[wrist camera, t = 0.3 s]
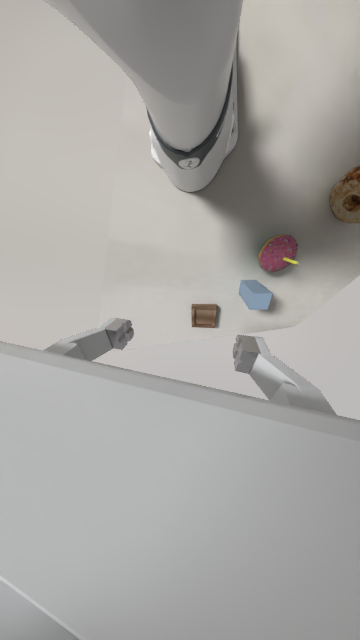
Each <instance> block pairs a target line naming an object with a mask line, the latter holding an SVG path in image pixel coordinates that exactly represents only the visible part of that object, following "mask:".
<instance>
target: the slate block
mask: <svg viewBox="0 0 360 640" xmlns="http://www.w3.org/2000/svg"><path fill="white" fill-rule="evenodd" d="M239 295H240V296H241V298H242V299H243V301H244V302H245V304H246V305H247V307H248V308H249V309H258V310H267V309H268V306H269V303H270V301H271V298H272V295H273V293H272V292H270V291H269V290H268V289H267V288H265V287H264V286H263V285H262V284H260V283H259V282H258V281H256V280H241V284H240V289H239Z"/></svg>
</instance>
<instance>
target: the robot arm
mask: <svg viewBox="0 0 360 640" xmlns="http://www.w3.org/2000/svg"><path fill="white" fill-rule="evenodd" d="M44 1H45V2H47V3H48V4H50V5H51V6H52V7H53V8H55V9H56V10H57V11H59V12H60V13H61V14H62V15H64V16H65V17H66V18H67V19H68V20H70V21H71V22H72V23H73V24H74V25H75V26H77V27H78V28H79V29H80V30H81V31H82V32H83V33H84V34H85V35H87V36H88V37H89V38H90V39H91V40H92V41H93V42H94V43H95V44H97V46H99V47H100V48H101V49H102V50H103V51H104V52H105V53H106V54H107V55H108V56H109V57H110V58H111V59H112V60H113V61H114V62H115V63H116V64H117V65H118V66H119V67H120V68H121V69H122V70H123V71H124V72H125V73H126V74H127V76H128V77H129V78H130V79H131V80H132V81H133V83H134V84H135V86H136V88H137V90H138V92H139V94H140V95H141V97H142V99H143V101H144V103H145V105H146V108H147V113H148V118H149V120H150V124H151V131H150V132H149V134H150V139H151V153H152V157H153V159H154V161H155V162H156V163H157V164H158V165H159V166H161V167H162V168H163V169H164V170H165V172H166V174H167V175H168V177H169V179H170V180H171V182H172V183H173V184H174V185H175V186H176V187H177V188H179V189H181V190H183V191H186V192H194V191H198V190H200V189H202V188H204V187H205V186H206V185H207V184H209V183H210V181H211V180H212V179H213V178H214V176H215V175H216V173H217V172H218V170H219V168H220V166H221V164H222V162H223V160H224V159H225V157H226V156H227V155H228V154H229V153H230V152H231V151H232V150H233V149H234V147H235V146H236V143H237V139H238V117H237V60H236V39H237V33H238V27H239V22H240V16H241V10H242V3H243V0H44ZM232 130H233V133H232ZM231 133H232V134H231ZM131 326H132V323H131V321H130V320H125V319H118V318H111V319H110V320H108V321H107V322H106V323H104V324H103V325H101V326H100V327H99V328H95V329H92V330H88V331H85V332H82V333H80V334H76V335H74V336H70V337H68V338H64V339H61V340H59V341H58V342H56V343H55V344H53V345H52V346H50V347H48V348H47V349H45V350H44V351H42V350H37V349H32V348H28V347H24V346H19V345H15V344H10V343H6V342H2V341H0V640H360V420H356V419H351V418H347V417H342V416H338V415H336V413H335V412H334V410H333V409H332V407H331V406H330V404H329V403H328V401H327V400H326V399H325V397H324V396H323V394H322V393H321V391H320V390H319V389H318V388H317V387H315V386H314V385H312V384H311V383H310V382H309V381H307V380H306V379H305V378H303V377H302V376H301V375H299V374H298V373H296V372H295V371H294V370H293V369H291V368H290V367H289V366H287V365H286V364H285V363H283V362H282V361H281V360H279V359H278V358H277V357H275V356H272V355H271V353H270V351H269V349H268V347H267V345H266V343H265V341H264V339H263V338H261V337H251V336H244V335H237V337H236V343H235V344H234V348H233V357H234V359H235V361H234V365H235V370H236V371H239V372H243V373H248V374H250V376H251V377H252V379H253V380H254V381H255V382H256V384H257V385H258V386H259V387H260V389H261V390H262V391H263V393H264V394H265V395H266V396H267V397H268V399H269V400H270V401H269V400H265V399H260V398H256V397H251V396H246V395H242V394H238V393H233V392H228V391H224V390H219V389H214V388H210V387H206V386H201V385H197V384H192V383H188V382H182V381H179V380H174V379H169V378H165V377H160V376H156V375H151V374H147V373H142V372H137V371H133V370H128V369H124V368H119V367H115V366H110V365H106V364H101V363H97V362H92V360H94V359H96V358H97V357H99V356H101V355H103V354H104V353H106V352H108V351H110V350H111V349H113V348H115V349H121V350H122V349H123V348H124V347H125V346H126V345H127V342H128V341H130V340H131V339H132V338H133V335H134V331H133V329H132V327H131Z"/></svg>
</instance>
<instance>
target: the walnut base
mask: <svg viewBox="0 0 360 640" xmlns="http://www.w3.org/2000/svg"><path fill="white" fill-rule="evenodd" d="M216 310H217V306H216V304H192V327H207V328H215V319H216Z"/></svg>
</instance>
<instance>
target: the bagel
mask: <svg viewBox="0 0 360 640" xmlns="http://www.w3.org/2000/svg"><path fill="white" fill-rule="evenodd" d="M330 205H331V208H332V210H333V212H334V214H335V216H336V217H337V218H338V219H340V220H341V221H343V222H347V223H359V222H360V166H357V167H355V168H353V169H352V170H351V171H349V172H348V173H347V174H346V175H345V176H344V177H343V178H342V179H341V180H340V181H339V182H338V183H337V184H336V185H335V186H334V188H333V190H332V192H331V196H330Z"/></svg>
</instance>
